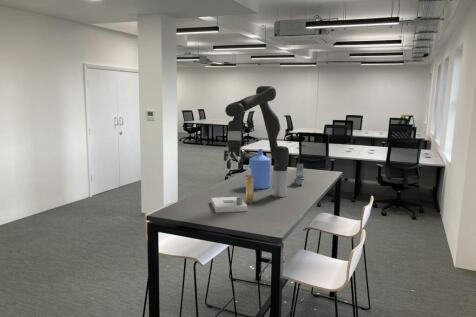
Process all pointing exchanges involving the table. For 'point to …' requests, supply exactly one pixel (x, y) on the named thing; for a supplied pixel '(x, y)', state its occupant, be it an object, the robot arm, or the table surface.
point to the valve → (249, 189)
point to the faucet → (299, 174)
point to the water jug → (260, 170)
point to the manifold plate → (229, 204)
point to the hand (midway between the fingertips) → (234, 169)
